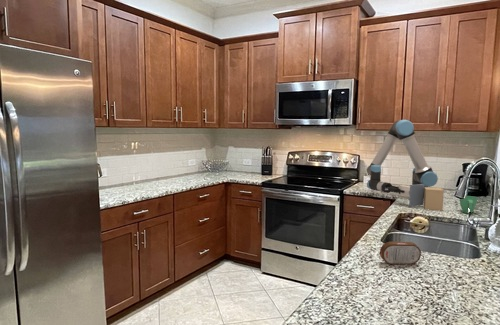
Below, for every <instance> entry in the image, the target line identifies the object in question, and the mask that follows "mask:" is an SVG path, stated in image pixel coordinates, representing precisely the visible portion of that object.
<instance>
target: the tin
mask: <svg viewBox="0 0 500 325" xmlns="http://www.w3.org/2000/svg"><path fill="white" fill-rule="evenodd" d="M379 256H380V258H381V259H382V260H383V261H384V262H385V263H387V264H389V265H405V264H407V265H408V266H409V265H410V266H411V265H414V264H417V262H419V261H420V259H421V257H422V251H421V248H420V247H419V246H418V245H417V244H416V243H415V242H413V241H387V242H385V243H383V245H381V247H380V249H379Z"/></svg>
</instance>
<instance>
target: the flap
mask: <svg viewBox="0 0 500 325" xmlns="http://www.w3.org/2000/svg"><path fill="white" fill-rule="evenodd" d="M398 186H399V189H400V190H401V189H404V190H409V195H408V194H403V193H401V192H400V194H399V193H397V194H398V196H401V197H405V198H409V200H408V202H409V203H408V207H418V206H423V205H424V184H417V185H412V184H410V185H404V184H402V185H398Z"/></svg>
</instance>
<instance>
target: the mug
mask: <svg viewBox="0 0 500 325" xmlns="http://www.w3.org/2000/svg"><path fill="white" fill-rule="evenodd" d="M465 196H466V198H465V199H459V204H460V208H461V211H462V213H464V214H468V213H467V212H468V208H469V209H470V212H471V213H470V214H472V213H473V212H474V210H475V208H476V206H477V203H478V197H477V196H471V195H465Z"/></svg>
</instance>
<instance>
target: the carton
mask: <svg viewBox="0 0 500 325" xmlns="http://www.w3.org/2000/svg"><path fill="white" fill-rule="evenodd" d="M444 192H445V190H444V189H443V188H441V187H432V186H431V187H424V199H423V205H422V207H423V206H424V207H423V208H424V210H425V209H429V210H428V211H437V210H440V211H439V212H442V211H443V209H444Z"/></svg>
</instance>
